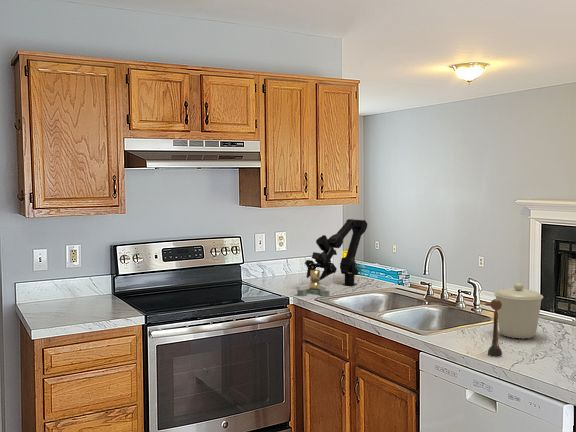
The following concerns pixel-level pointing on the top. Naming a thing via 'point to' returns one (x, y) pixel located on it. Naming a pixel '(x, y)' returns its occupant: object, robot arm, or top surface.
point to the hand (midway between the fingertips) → (313, 278)
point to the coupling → (314, 279)
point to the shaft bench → (305, 289)
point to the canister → (518, 311)
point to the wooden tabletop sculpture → (495, 329)
